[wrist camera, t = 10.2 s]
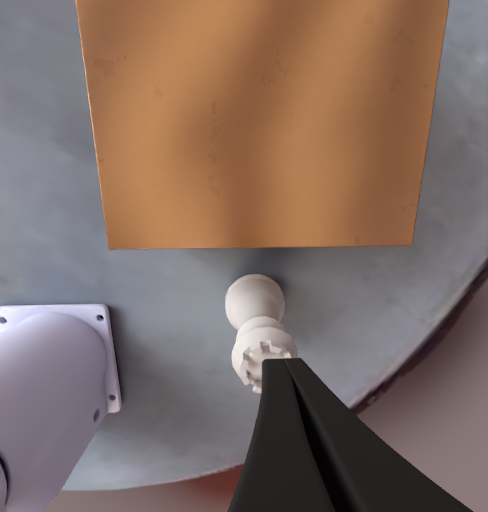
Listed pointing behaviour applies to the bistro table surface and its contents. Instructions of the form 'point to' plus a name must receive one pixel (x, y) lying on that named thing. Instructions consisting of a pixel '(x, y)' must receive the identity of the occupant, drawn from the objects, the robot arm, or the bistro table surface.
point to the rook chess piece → (257, 326)
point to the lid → (260, 119)
